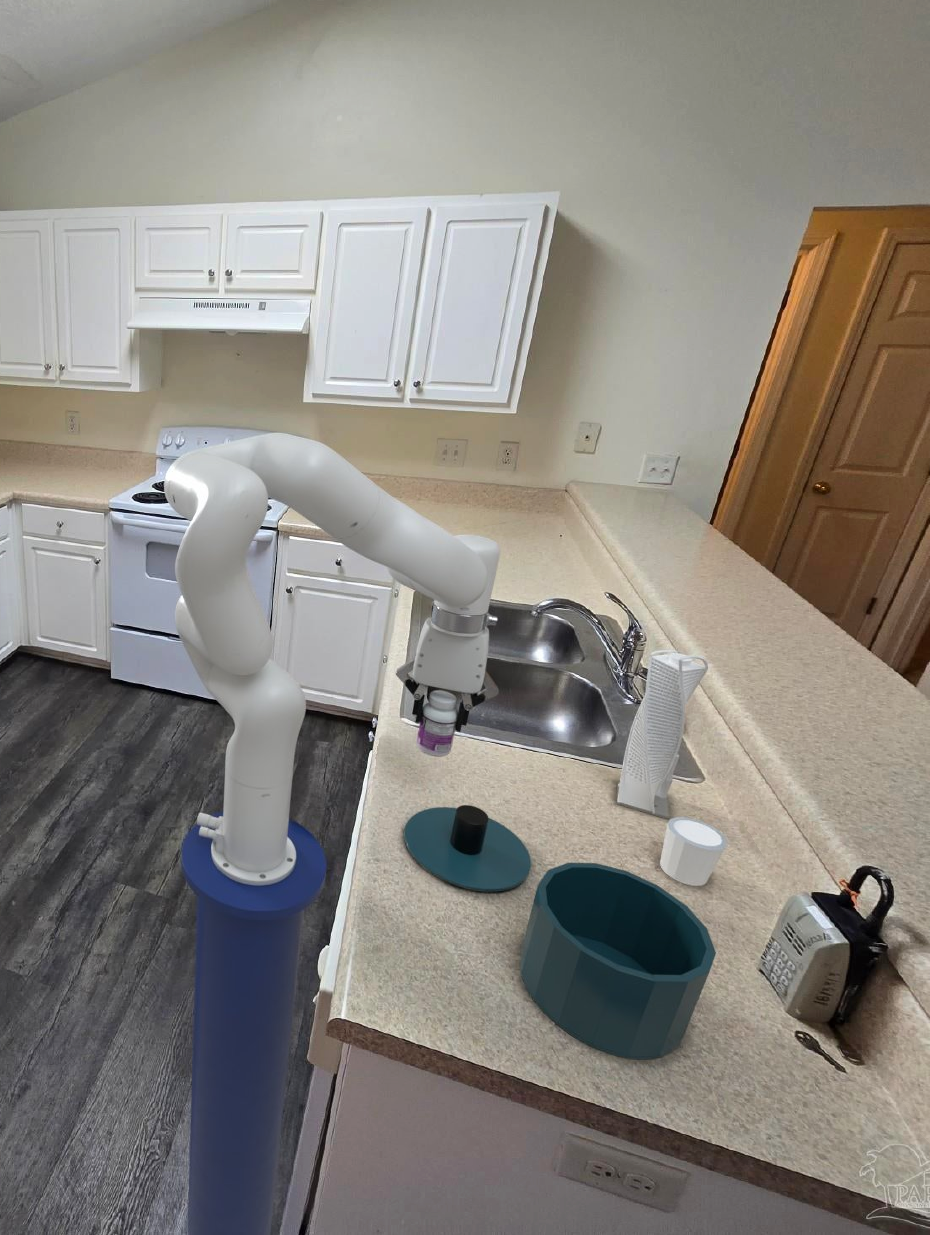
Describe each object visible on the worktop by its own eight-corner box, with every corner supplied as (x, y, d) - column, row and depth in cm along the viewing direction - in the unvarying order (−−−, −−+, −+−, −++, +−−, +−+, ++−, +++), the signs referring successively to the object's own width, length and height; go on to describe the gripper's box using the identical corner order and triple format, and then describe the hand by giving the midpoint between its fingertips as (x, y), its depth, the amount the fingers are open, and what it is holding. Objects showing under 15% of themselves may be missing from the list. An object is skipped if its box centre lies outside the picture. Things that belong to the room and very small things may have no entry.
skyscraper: (668, 824, 109) (722, 664, 98) (608, 806, 113) (654, 651, 102) (666, 795, 116) (716, 643, 105) (609, 780, 119) (653, 631, 109)
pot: (522, 1024, 77) (544, 948, 73) (517, 916, 91) (534, 847, 87) (701, 1084, 71) (735, 1005, 67) (665, 959, 85) (692, 887, 81)
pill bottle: (419, 736, 115) (429, 684, 112) (453, 745, 113) (464, 693, 109) (412, 751, 111) (422, 698, 107) (447, 761, 108) (458, 708, 105)
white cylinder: (666, 884, 97) (680, 844, 94) (647, 851, 103) (659, 812, 101) (722, 893, 96) (738, 853, 93) (699, 859, 102) (713, 820, 99)
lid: (397, 872, 99) (403, 835, 96) (409, 801, 114) (414, 767, 111) (532, 910, 92) (543, 872, 90) (526, 830, 107) (535, 795, 105)
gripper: (520, 619, 104) (496, 724, 110) (401, 600, 110) (385, 701, 116) (522, 637, 97) (496, 748, 104) (396, 616, 103) (379, 722, 110)
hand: (438, 722), depth 110 cm, fingers closed on pill bottle, 5 cm apart
